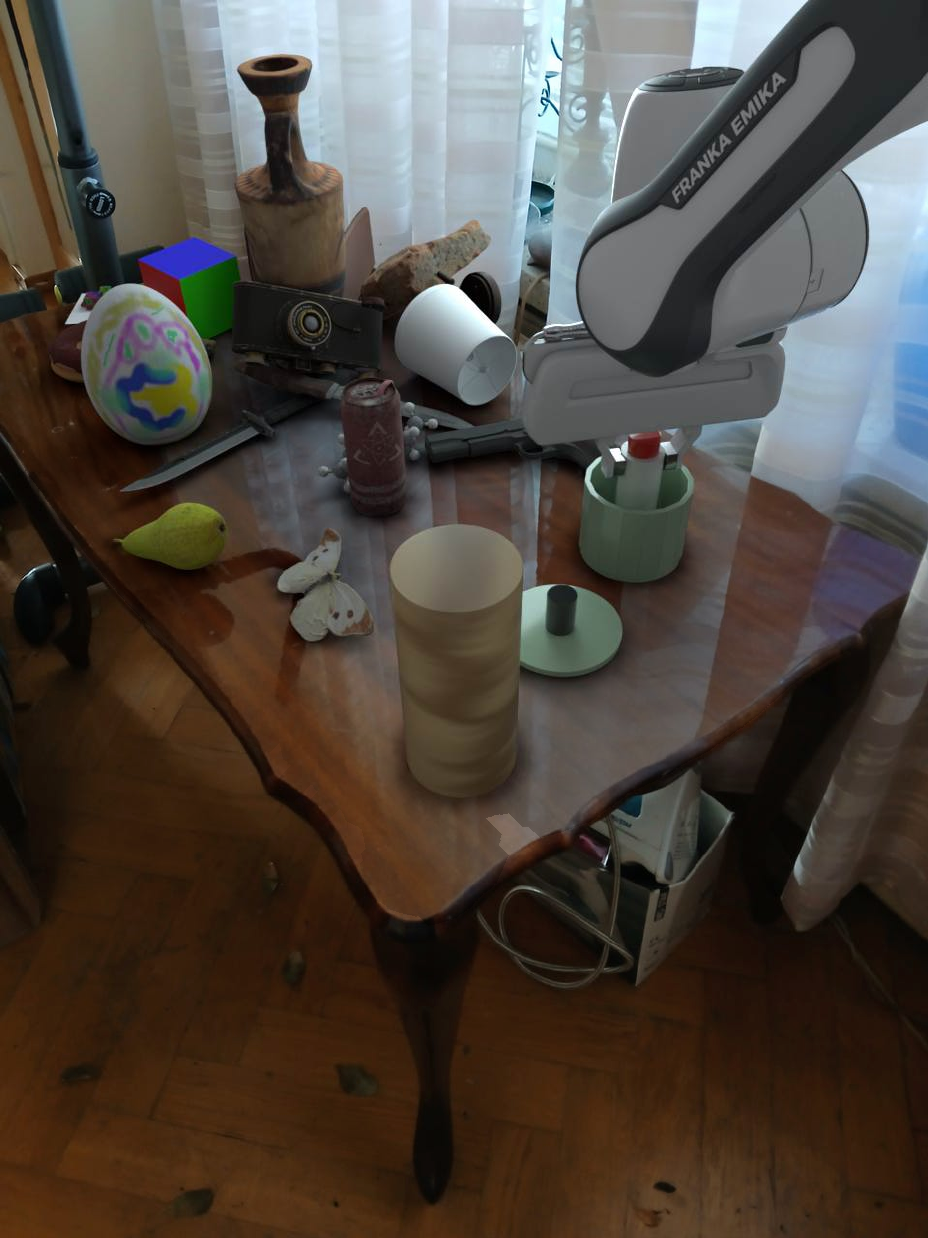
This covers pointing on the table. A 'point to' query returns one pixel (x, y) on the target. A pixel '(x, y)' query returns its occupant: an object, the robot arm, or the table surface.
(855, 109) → the robot arm
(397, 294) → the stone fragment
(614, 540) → the pot
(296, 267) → the vase
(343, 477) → the molecular model
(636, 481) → the spice bottle
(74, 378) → the donut
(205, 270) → the cube
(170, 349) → the decorative egg
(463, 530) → the pedestal
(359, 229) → the letter holder
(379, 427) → the can
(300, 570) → the butterfly
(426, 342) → the light fixture
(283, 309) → the camera
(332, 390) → the knife
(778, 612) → the table surface
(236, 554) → the table surface
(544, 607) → the pot lid
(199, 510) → the fruit
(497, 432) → the handgun
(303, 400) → the knife
